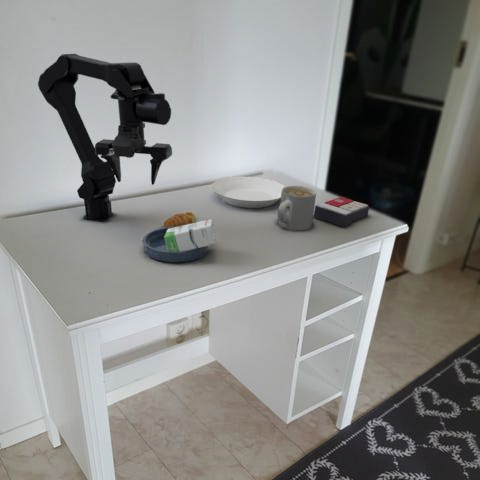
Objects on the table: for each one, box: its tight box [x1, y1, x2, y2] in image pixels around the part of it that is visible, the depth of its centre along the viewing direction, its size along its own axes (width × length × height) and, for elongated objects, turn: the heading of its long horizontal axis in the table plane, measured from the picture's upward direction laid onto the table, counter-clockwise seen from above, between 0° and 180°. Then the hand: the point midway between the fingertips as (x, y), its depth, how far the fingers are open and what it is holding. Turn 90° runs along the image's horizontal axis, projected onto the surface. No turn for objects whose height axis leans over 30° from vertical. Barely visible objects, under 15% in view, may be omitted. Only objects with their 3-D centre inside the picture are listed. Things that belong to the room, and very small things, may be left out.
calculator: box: [313, 196, 370, 228], centre depth 152 cm, size 11×4×15 cm
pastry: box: [162, 211, 198, 228], centre depth 138 cm, size 9×7×4 cm
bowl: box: [211, 176, 286, 209], centre depth 162 cm, size 25×25×4 cm
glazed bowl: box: [142, 227, 209, 264], centre depth 125 cm, size 16×16×3 cm
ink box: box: [164, 218, 217, 252], centre depth 121 cm, size 9×5×12 cm
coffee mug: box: [277, 185, 317, 231], centre depth 142 cm, size 13×10×10 cm
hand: (136, 183), depth 129 cm, fingers open, 9 cm apart
